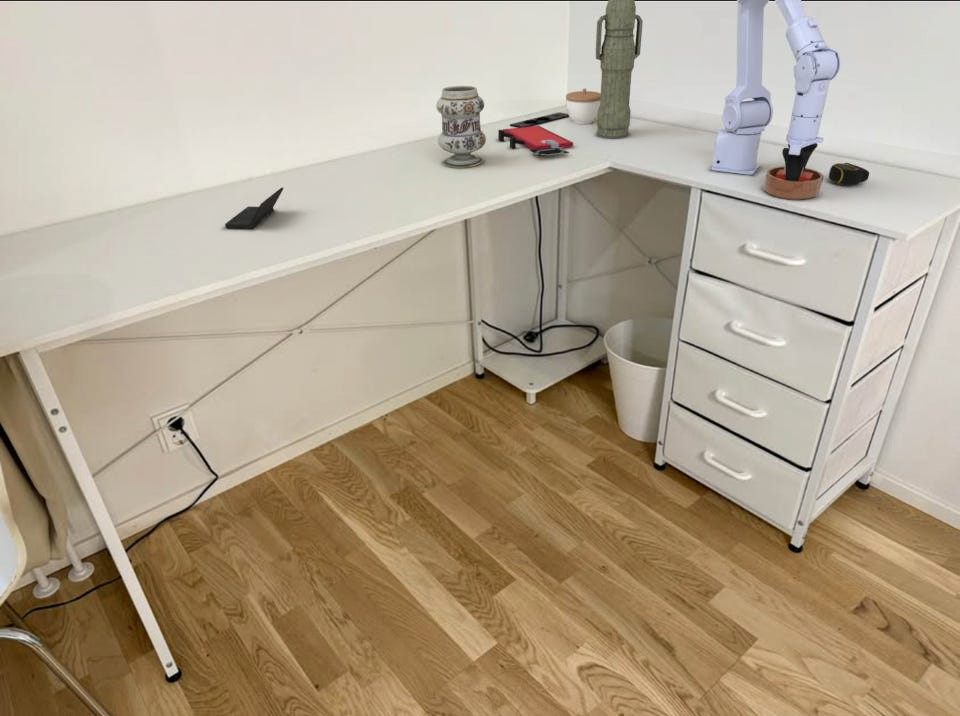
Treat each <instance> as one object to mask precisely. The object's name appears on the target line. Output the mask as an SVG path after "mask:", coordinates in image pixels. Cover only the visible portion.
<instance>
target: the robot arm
mask: <svg viewBox="0 0 960 716" xmlns="http://www.w3.org/2000/svg"><path fill="white" fill-rule="evenodd" d="M774 1H775V3H776V5H777V7H778V8H779V11H780V12H781V14H782V16H783V18H784V20H785V22H786V24H787V27H786V28H787V29H786V31H785V39H786V41H787V42H788V45H789V47H790V50H791V52H792V54H793V57H794V59H795V61H796V63H795V65H793V76H794V82H795V83H794V91H795V96H794V101H793V107H792V112H791V117H790V121H789V127H788V132H787V134H786V136H785V140H786V142H787V143H788V144H787V146H788V147H784V148H783V149H782V150H781V151H782V153H781V154H782V156H783V160H784V166H786V180H789V181H798V180H799V178H800V175H801V173H802V170H803V172H804V170H805V168H807V167H806V166H807V165H808V162H809V160H810V158H811V156H812V155H813V153H814V151H815V150H816V149H817V147H818V144H822V143H823V142H824V137H821V136H819V132H820V129H821V123H822V118H823V114H824V110H825V104H826V100H827V95H828V92H829V87H830V86H829V85H830V81H833V79H835V77H836V76H837V75H838V73H839V71H840V68H841V58H840V55H839V51H837V50H836V49H834V48H832V47H830V45H828V44H826V42H825V39H824V36H823V34H822V32H821V30H820V28H819V23H818V21H817V19H816V18H814V17H813V16H807V14H806V11H805V8H804V5H803V1H802V0H774ZM736 2H737V12H736V13H737V19H736V20H737V23H736V83H735V84H736V85H735V86H736V87H735V88H734V89H733V90H732V91H731V92H729V94H728V95H726V96H725V98H724V101H725V102H724V108H723V111H722V115H721V116H722V117H721V121H722V123H723V126H724V128H721V129H720V130H719V131H718V133H717V136H716V139H715V145H714V153H713V157H712V164H711V169H710V170H711V171H716V172H722V173H731V174H732V173H733V174H740V175H748V176H752V175H754V174H755V172H756V171H757V170H758V169H759V168H760V166H761V164H759V163H757V159H758V154H759V149H760V142H761V136H762V132H765V130H766V128H767V126H769V125H770V123H771V121H772V119H773V115H774V108H773V104H772V100H771V98H772V97H771V95H772V94H771V92H770V91H769V89H767V88H766V87H765V86H764V85H763V57H764V56H763V55H764V54H763V53H764V52H763V50H764V12H765V11H764V10H765V7H766V6H767V4H768V3H769V2H770V0H736ZM748 99H752V100H748ZM743 100H744V101H743ZM803 167H804V169H803Z"/></svg>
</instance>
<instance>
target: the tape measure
mask: <svg viewBox="0 0 960 716" xmlns="http://www.w3.org/2000/svg"><path fill="white" fill-rule="evenodd" d="M869 177H870V171H869V170H868V169H865V168H864V167H862V166H859V165H856V164H854V163H853V164H852V163H849V162H844V163H841V162H840V163H838V162H837V163H834V164H833V165H831V167H830V169H829V173H828V179H829V180H830V181H831V182H833V183H836V184H837V185H840V186H845V185H850V186H853V185H858V184H860V183H864V182H866V181H868V180H869Z"/></svg>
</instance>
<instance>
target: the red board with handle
mask: <svg viewBox="0 0 960 716" xmlns="http://www.w3.org/2000/svg"><path fill="white" fill-rule="evenodd" d="M497 136H498V137H497V139H498V141H499V142H503V143H504V142H505V138H508V139H509V148H510V149H516V146H517V145H522V146H525V147H528V148H529V151H530V152H531V153H533V154H535V155H536V156H538V157H544V156H545V157H546V156H553V155H554V156H555V155H564V154H570V151H567V150H565V149H563V148H568V147H574V142H573V141H571V140H569V139H567V138H565V137H564V136H561V135H559V134H557V133H555V132H553V131H550V130H549V129H547V128H544V127H543V126H541V125H531V126H522V127H513V128H503V129H498V135H497Z"/></svg>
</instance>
